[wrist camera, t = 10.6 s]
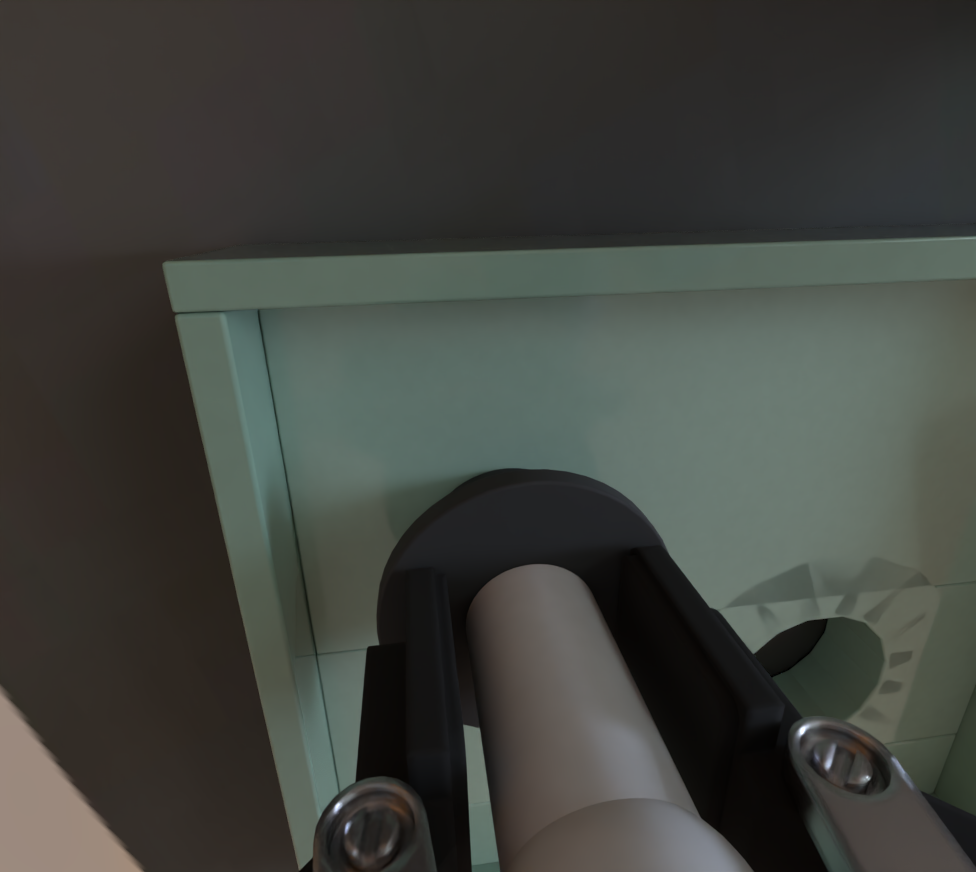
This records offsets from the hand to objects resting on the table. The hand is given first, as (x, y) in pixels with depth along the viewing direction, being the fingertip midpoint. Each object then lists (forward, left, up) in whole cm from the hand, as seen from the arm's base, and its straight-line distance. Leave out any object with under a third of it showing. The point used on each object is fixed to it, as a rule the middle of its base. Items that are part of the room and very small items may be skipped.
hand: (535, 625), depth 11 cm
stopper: (0, 0, -3) cm, 3 cm away
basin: (+3, +5, -6) cm, 8 cm away
